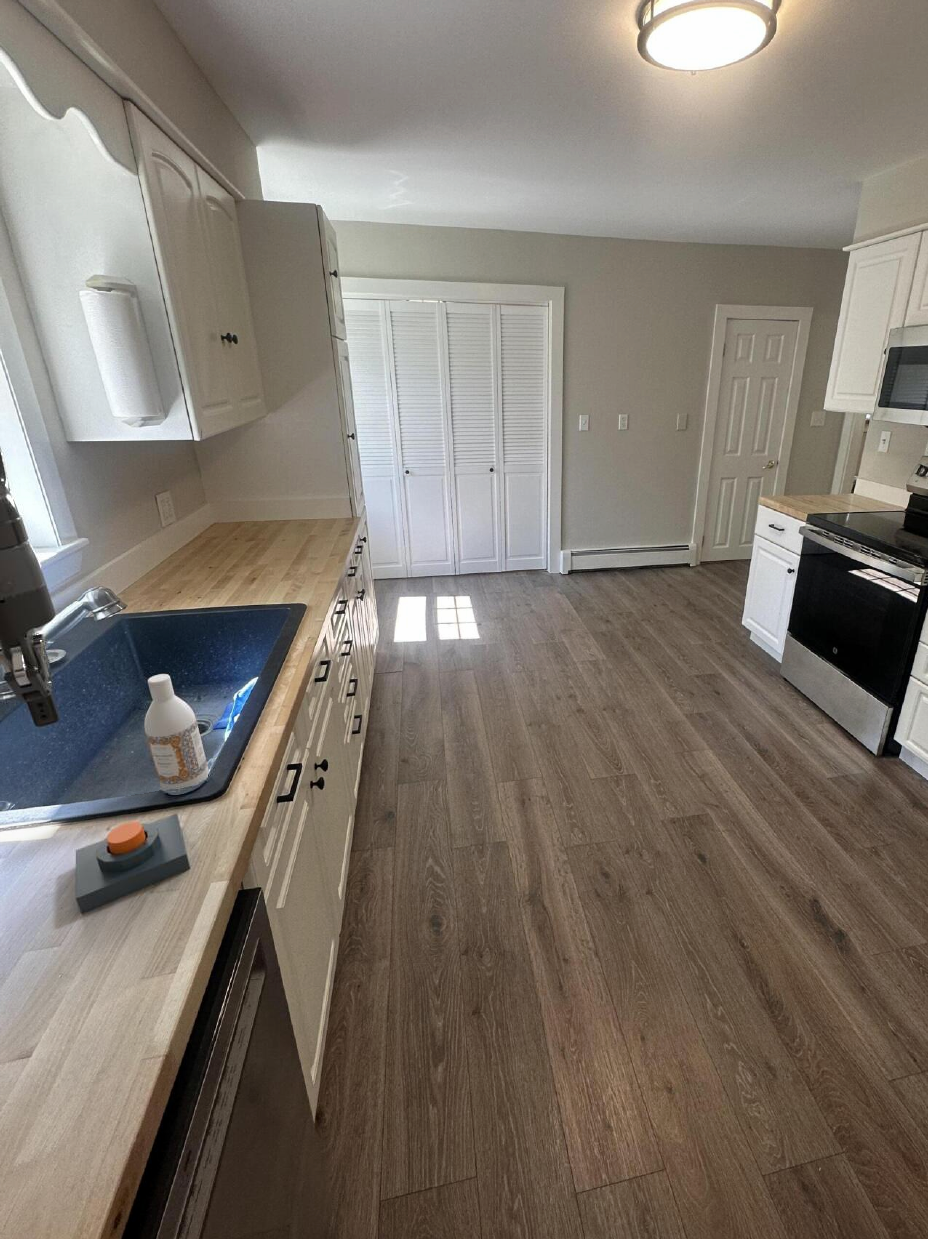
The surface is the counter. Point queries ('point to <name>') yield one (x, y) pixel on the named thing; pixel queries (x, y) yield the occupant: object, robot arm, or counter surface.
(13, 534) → the robot arm
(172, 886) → the counter surface
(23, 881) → the counter surface
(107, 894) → the button base
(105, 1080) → the counter surface
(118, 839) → the button
